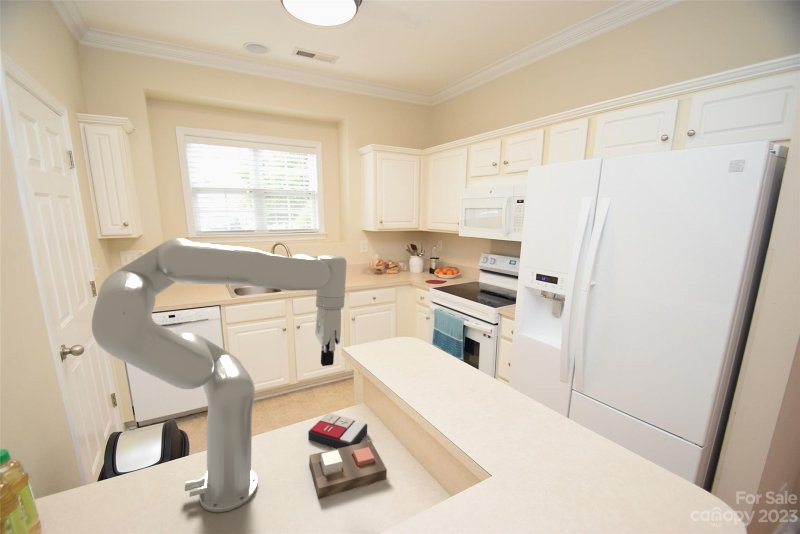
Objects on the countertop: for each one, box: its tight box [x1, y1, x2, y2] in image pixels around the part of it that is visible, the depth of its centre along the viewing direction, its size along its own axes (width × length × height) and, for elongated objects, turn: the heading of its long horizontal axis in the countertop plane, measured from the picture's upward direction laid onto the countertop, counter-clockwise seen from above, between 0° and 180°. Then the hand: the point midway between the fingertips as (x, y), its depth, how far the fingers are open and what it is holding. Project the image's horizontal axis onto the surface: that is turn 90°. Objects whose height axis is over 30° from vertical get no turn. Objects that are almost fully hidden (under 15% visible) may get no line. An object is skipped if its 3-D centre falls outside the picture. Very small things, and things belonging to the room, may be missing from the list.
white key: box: [321, 450, 342, 476], centre depth 87 cm, size 4×4×4 cm
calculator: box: [307, 412, 368, 450], centre depth 104 cm, size 11×4×15 cm
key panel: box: [308, 440, 388, 500], centre depth 90 cm, size 18×12×3 cm, turn 115°
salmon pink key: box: [353, 447, 374, 467], centre depth 91 cm, size 4×4×4 cm
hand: (326, 364), depth 93 cm, fingers closed
